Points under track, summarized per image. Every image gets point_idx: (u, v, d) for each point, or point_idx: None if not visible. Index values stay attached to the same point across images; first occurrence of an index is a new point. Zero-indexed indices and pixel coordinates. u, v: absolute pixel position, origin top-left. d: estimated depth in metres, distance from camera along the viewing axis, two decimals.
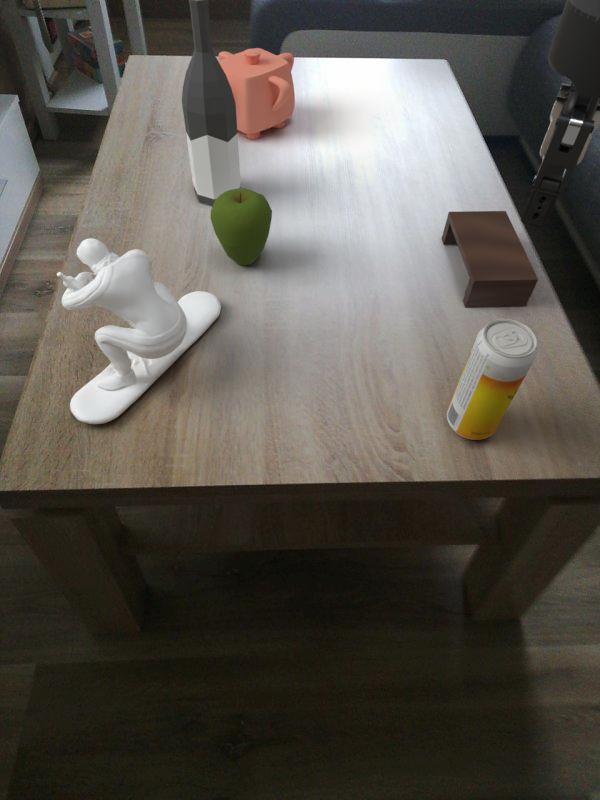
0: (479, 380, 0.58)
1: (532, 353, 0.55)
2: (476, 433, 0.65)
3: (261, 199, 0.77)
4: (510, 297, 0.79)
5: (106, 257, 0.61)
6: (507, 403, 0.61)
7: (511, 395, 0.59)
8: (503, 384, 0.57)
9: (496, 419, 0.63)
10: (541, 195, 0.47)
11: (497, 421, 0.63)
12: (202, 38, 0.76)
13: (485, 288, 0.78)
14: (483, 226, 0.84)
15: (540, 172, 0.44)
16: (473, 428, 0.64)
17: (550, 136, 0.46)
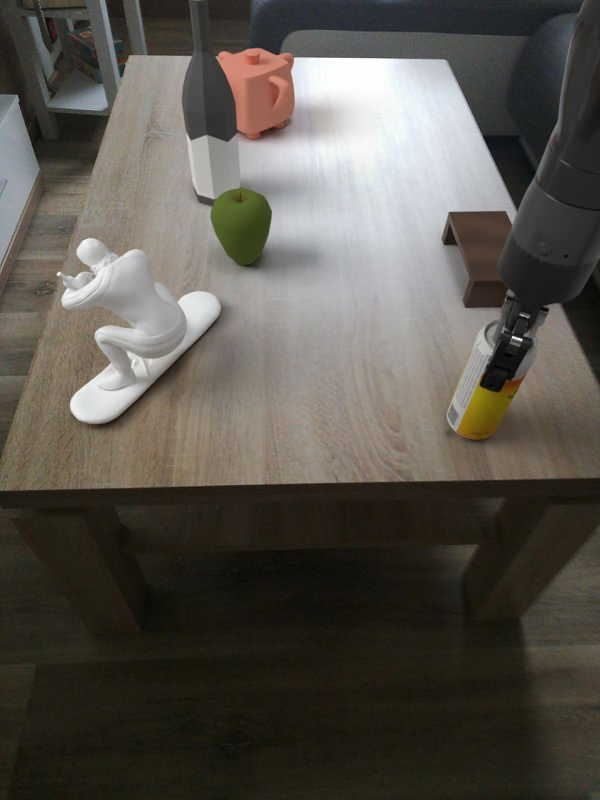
0: (480, 380, 0.58)
1: (532, 353, 0.55)
2: (476, 433, 0.65)
3: (261, 199, 0.77)
4: None
5: (106, 257, 0.61)
6: (507, 403, 0.61)
7: (511, 395, 0.60)
8: None
9: (496, 419, 0.63)
10: None
11: (497, 421, 0.63)
12: (202, 38, 0.76)
13: (485, 288, 0.78)
14: (483, 226, 0.84)
15: (490, 365, 0.52)
16: (473, 427, 0.64)
17: (500, 329, 0.52)
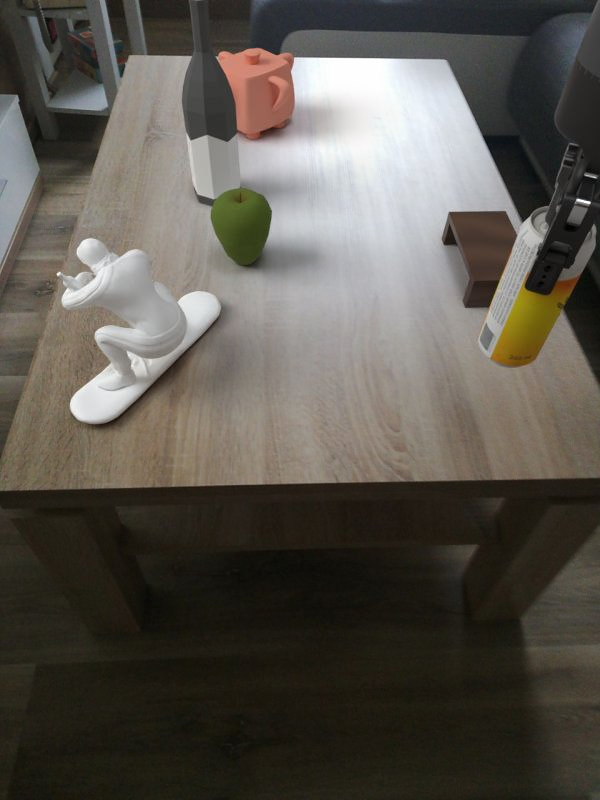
0: (524, 282, 0.48)
1: (591, 242, 0.45)
2: (515, 357, 0.54)
3: (261, 199, 0.77)
4: None
5: (106, 257, 0.61)
6: (555, 315, 0.50)
7: (561, 303, 0.49)
8: None
9: (540, 337, 0.52)
10: (546, 264, 0.44)
11: (541, 341, 0.53)
12: (202, 38, 0.76)
13: (485, 288, 0.78)
14: (483, 226, 0.84)
15: (544, 247, 0.41)
16: (512, 350, 0.53)
17: (555, 204, 0.42)
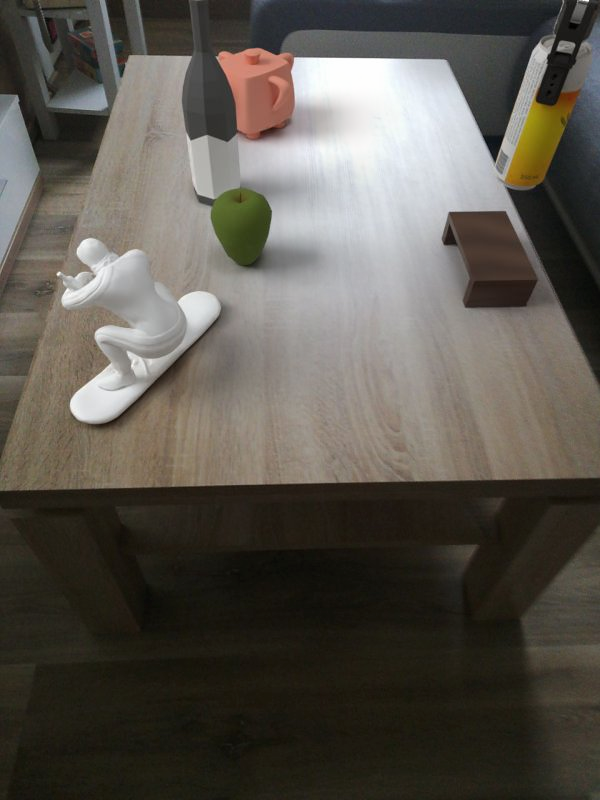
0: (534, 98, 0.59)
1: (589, 56, 0.56)
2: (525, 176, 0.66)
3: (261, 199, 0.77)
4: (510, 297, 0.79)
5: (106, 257, 0.61)
6: (559, 131, 0.62)
7: (564, 118, 0.61)
8: None
9: (546, 155, 0.64)
10: (553, 72, 0.56)
11: (546, 160, 0.65)
12: (202, 38, 0.76)
13: (485, 288, 0.78)
14: (483, 226, 0.84)
15: (553, 48, 0.53)
16: (522, 168, 0.65)
17: (562, 17, 0.53)
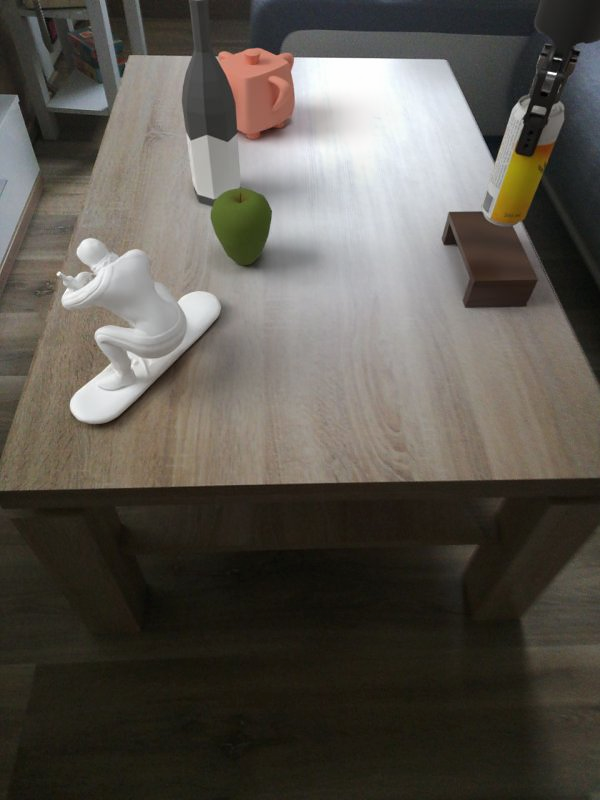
0: (514, 149, 0.68)
1: (560, 115, 0.65)
2: (508, 215, 0.74)
3: (261, 199, 0.77)
4: (510, 297, 0.79)
5: (106, 257, 0.61)
6: (537, 177, 0.70)
7: (541, 166, 0.69)
8: None
9: (526, 197, 0.72)
10: (529, 129, 0.64)
11: (527, 201, 0.73)
12: (202, 38, 0.76)
13: (485, 288, 0.78)
14: (483, 226, 0.84)
15: (527, 111, 0.61)
16: (506, 208, 0.73)
17: (535, 84, 0.62)
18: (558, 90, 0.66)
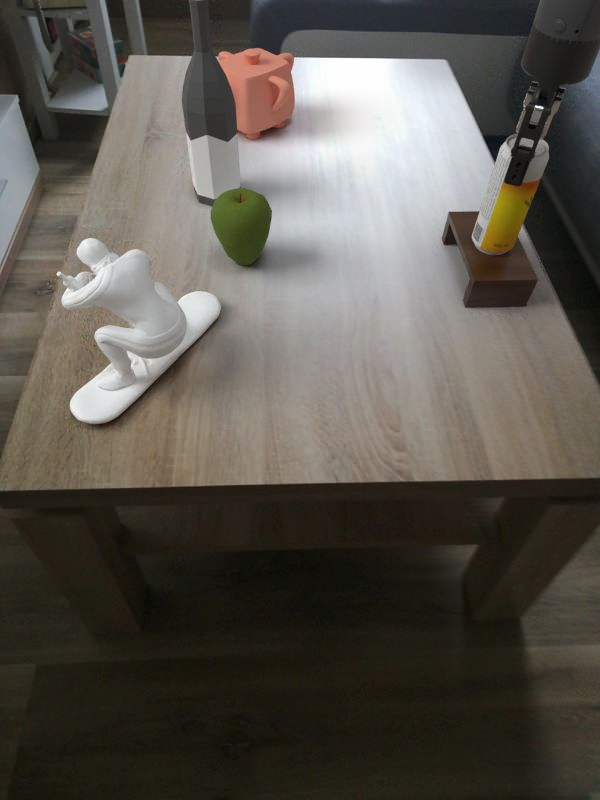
0: (502, 185, 0.72)
1: (545, 155, 0.69)
2: (497, 245, 0.78)
3: (261, 199, 0.77)
4: (510, 297, 0.79)
5: (106, 257, 0.61)
6: (524, 210, 0.74)
7: (527, 201, 0.73)
8: (521, 185, 0.71)
9: (514, 229, 0.76)
10: (517, 161, 0.66)
11: (515, 232, 0.77)
12: (202, 38, 0.76)
13: (485, 288, 0.78)
14: None
15: (515, 143, 0.63)
16: (495, 239, 0.77)
17: (523, 118, 0.65)
18: None
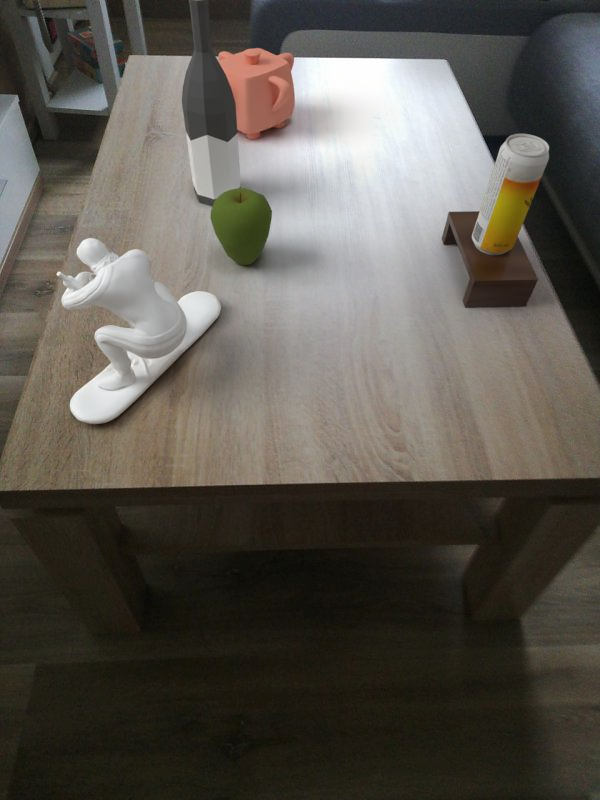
0: (502, 185, 0.72)
1: (545, 155, 0.69)
2: (497, 245, 0.78)
3: (261, 199, 0.77)
4: (510, 297, 0.79)
5: (106, 257, 0.61)
6: (524, 210, 0.74)
7: (527, 201, 0.73)
8: (521, 185, 0.71)
9: (514, 229, 0.76)
10: None
11: (515, 232, 0.77)
12: (202, 38, 0.76)
13: (485, 288, 0.78)
14: None
15: None
16: (495, 239, 0.77)
17: None
18: None
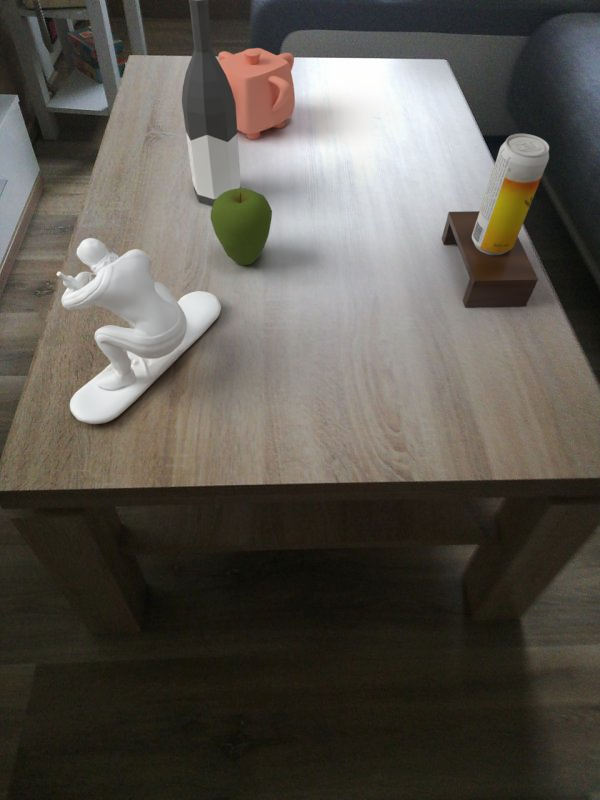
0: (502, 185, 0.72)
1: (545, 155, 0.69)
2: (497, 245, 0.78)
3: (261, 199, 0.77)
4: (510, 297, 0.79)
5: (106, 257, 0.61)
6: (524, 210, 0.74)
7: (527, 201, 0.73)
8: (521, 185, 0.71)
9: (514, 229, 0.76)
10: None
11: (515, 232, 0.77)
12: (202, 38, 0.76)
13: (485, 288, 0.78)
14: None
15: None
16: (495, 239, 0.77)
17: None
18: None
